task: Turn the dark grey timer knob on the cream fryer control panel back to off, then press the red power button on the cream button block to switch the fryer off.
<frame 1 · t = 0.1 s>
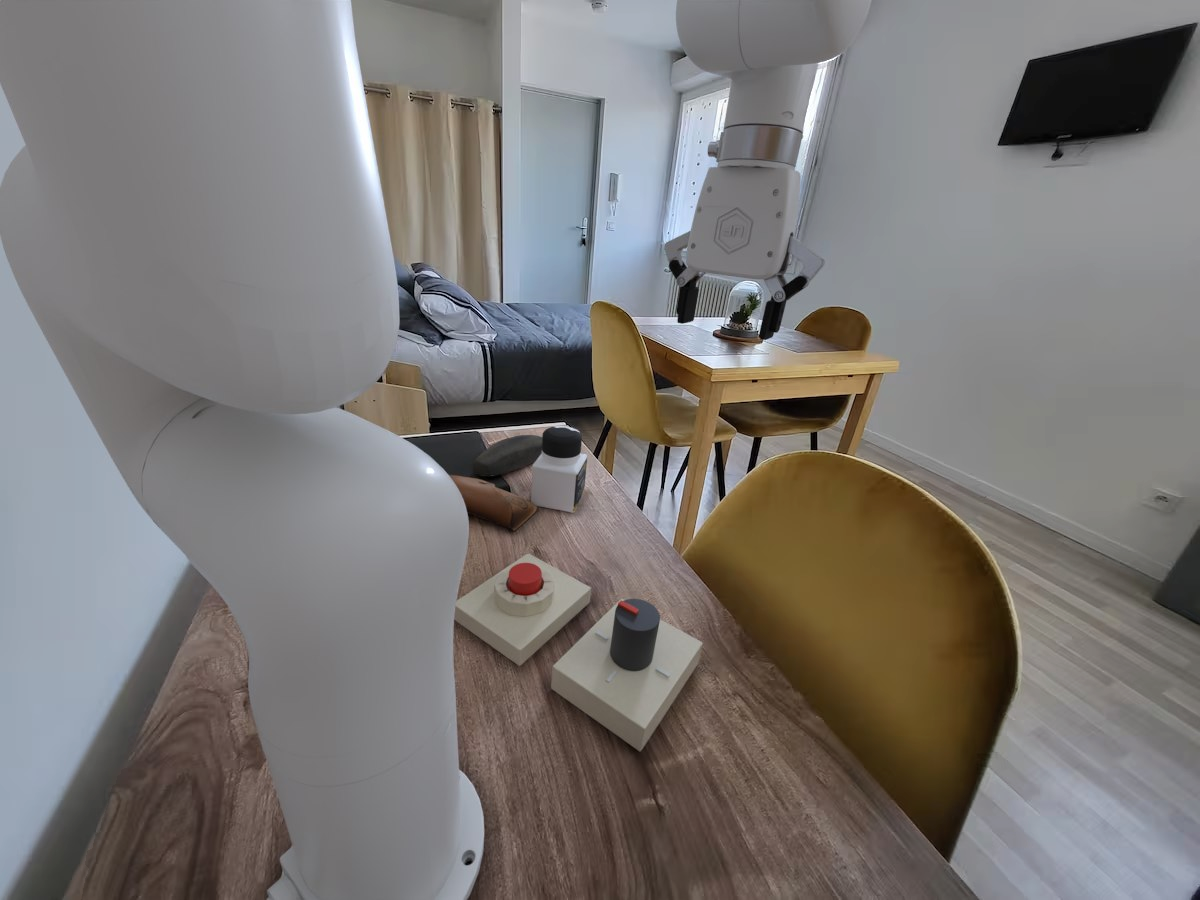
hand: (723, 329, 55), 31 cm above the table, tool pointing down, fingers open, 9 cm apart
power button: (525, 579, 53), point 4 cm above the table, slide at 0.1 cm
sunglasses case: (476, 505, 75), on the table
decorative stone: (512, 464, 89), on the table
timer panel: (627, 675, 48), on the table
button block: (524, 610, 55), on the table
timer knob: (634, 633, 46), point 6 cm above the table, hinge at 90.0°
medicine bottle: (558, 499, 79), on the table
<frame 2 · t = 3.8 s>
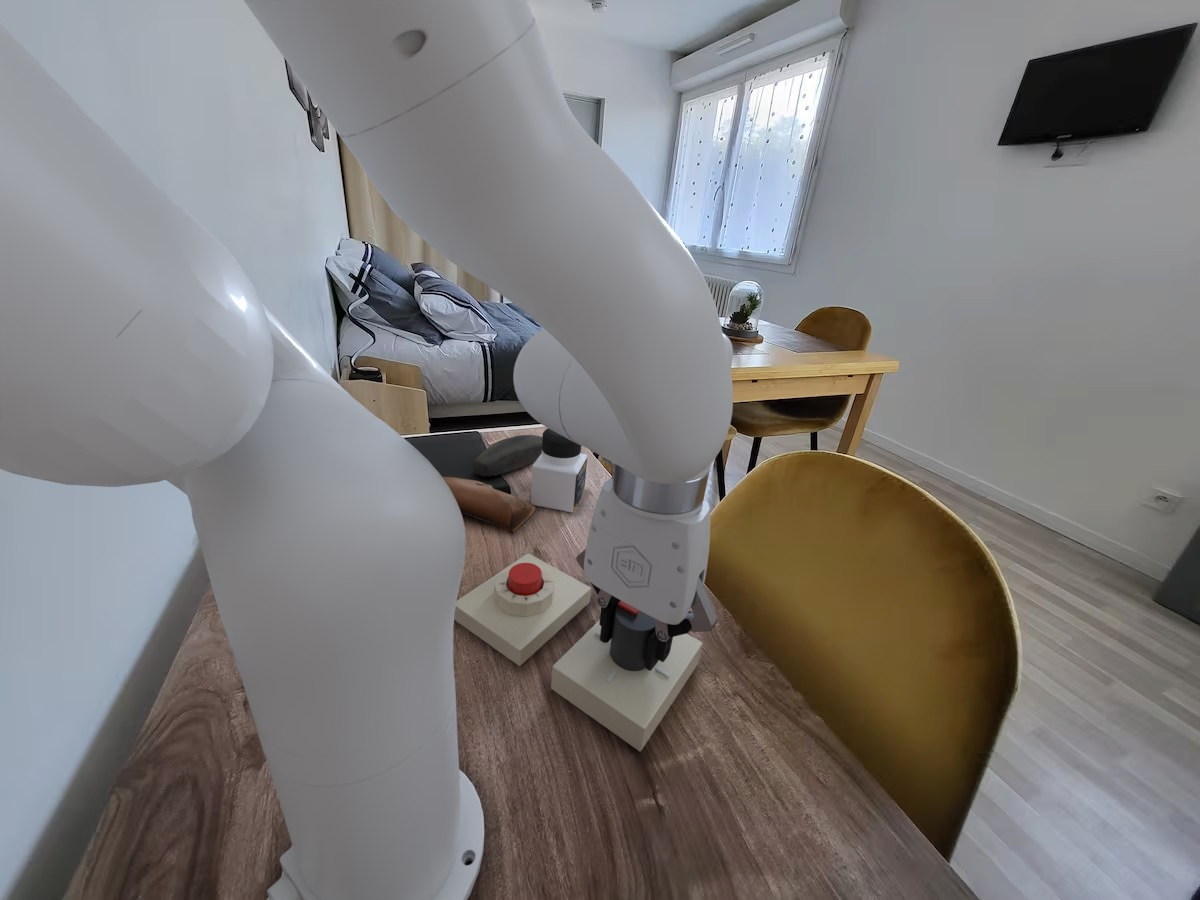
hand: (632, 645, 47), 4 cm above the table, tool pointing down, fingers closed on timer knob, 4 cm apart
timer knob: (634, 633, 46), point 6 cm above the table, hinge at 89.9°, touching gripper
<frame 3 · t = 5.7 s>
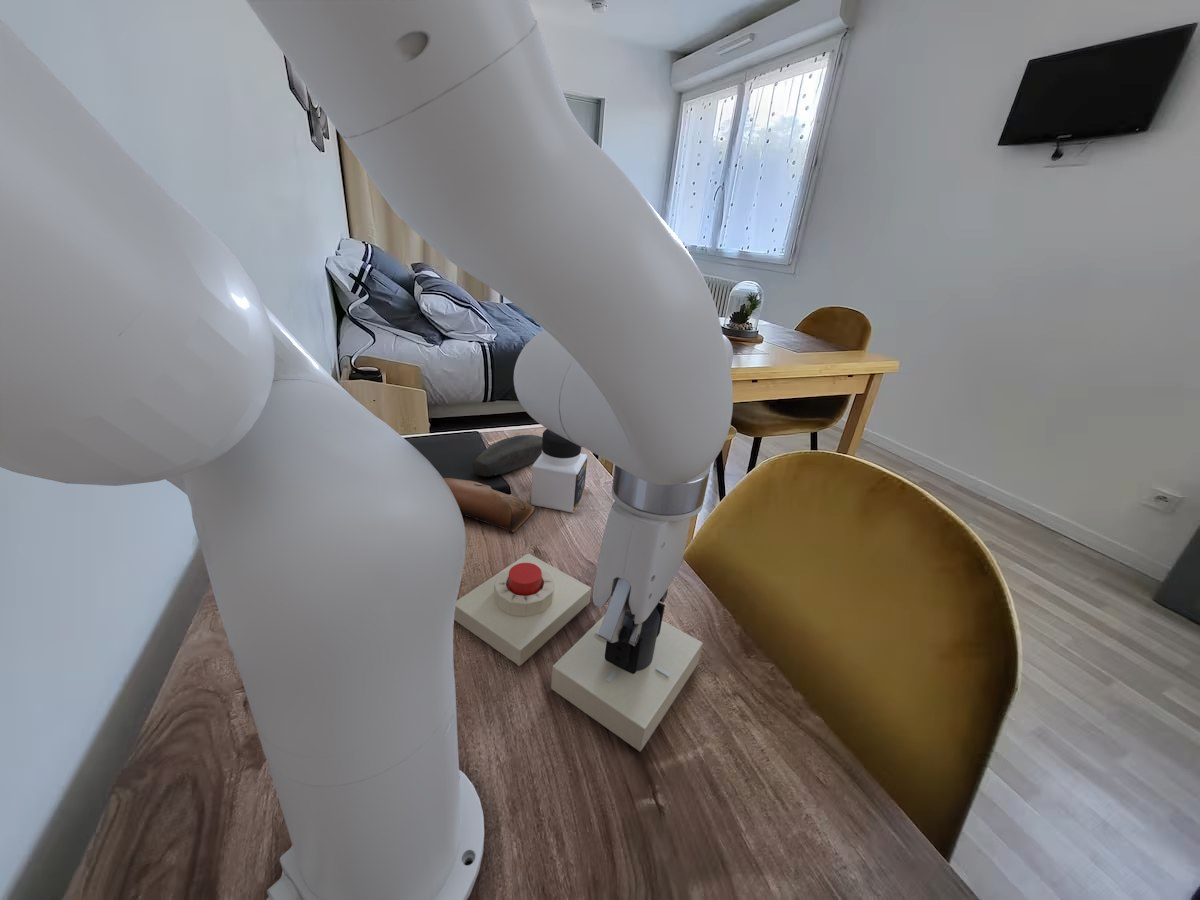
hand: (632, 645, 47), 4 cm above the table, tool pointing down, fingers open, 4 cm apart
timer knob: (634, 633, 46), point 6 cm above the table, hinge at 4.8°
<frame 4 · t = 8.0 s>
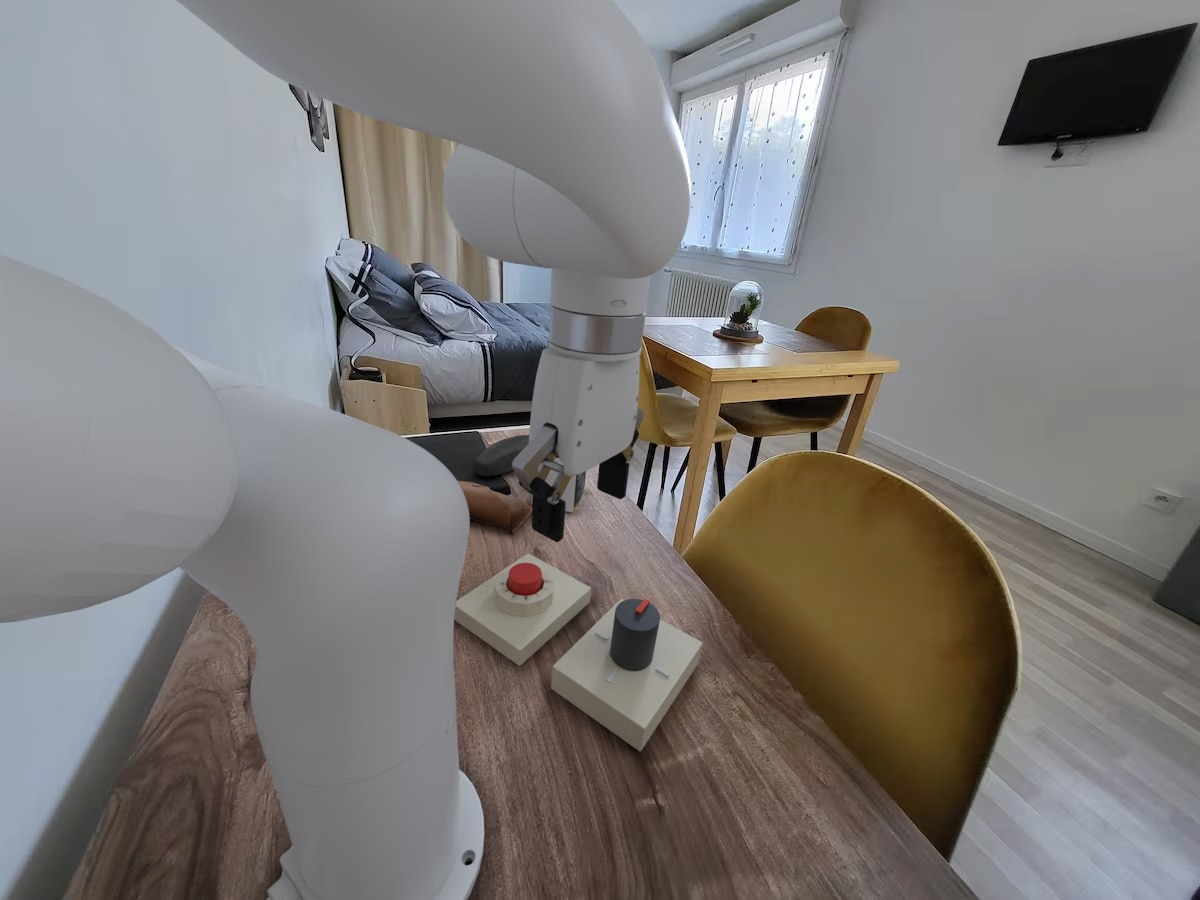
hand: (581, 512, 46), 16 cm above the table, tool pointing down, fingers open, 9 cm apart
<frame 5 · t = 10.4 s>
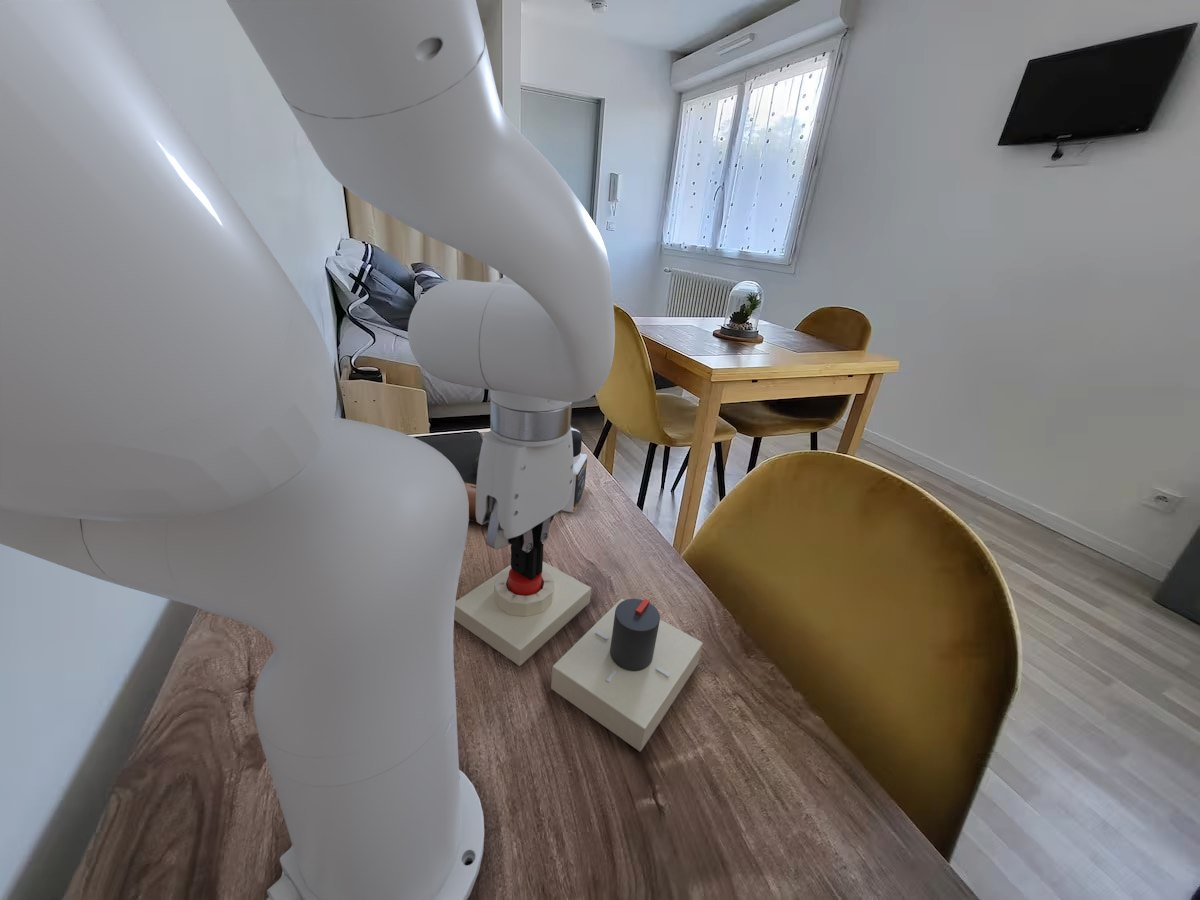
hand: (526, 571, 53), 5 cm above the table, tool pointing down, fingers closed
power button: (525, 579, 53), point 4 cm above the table, slide at 0.1 cm, touching gripper
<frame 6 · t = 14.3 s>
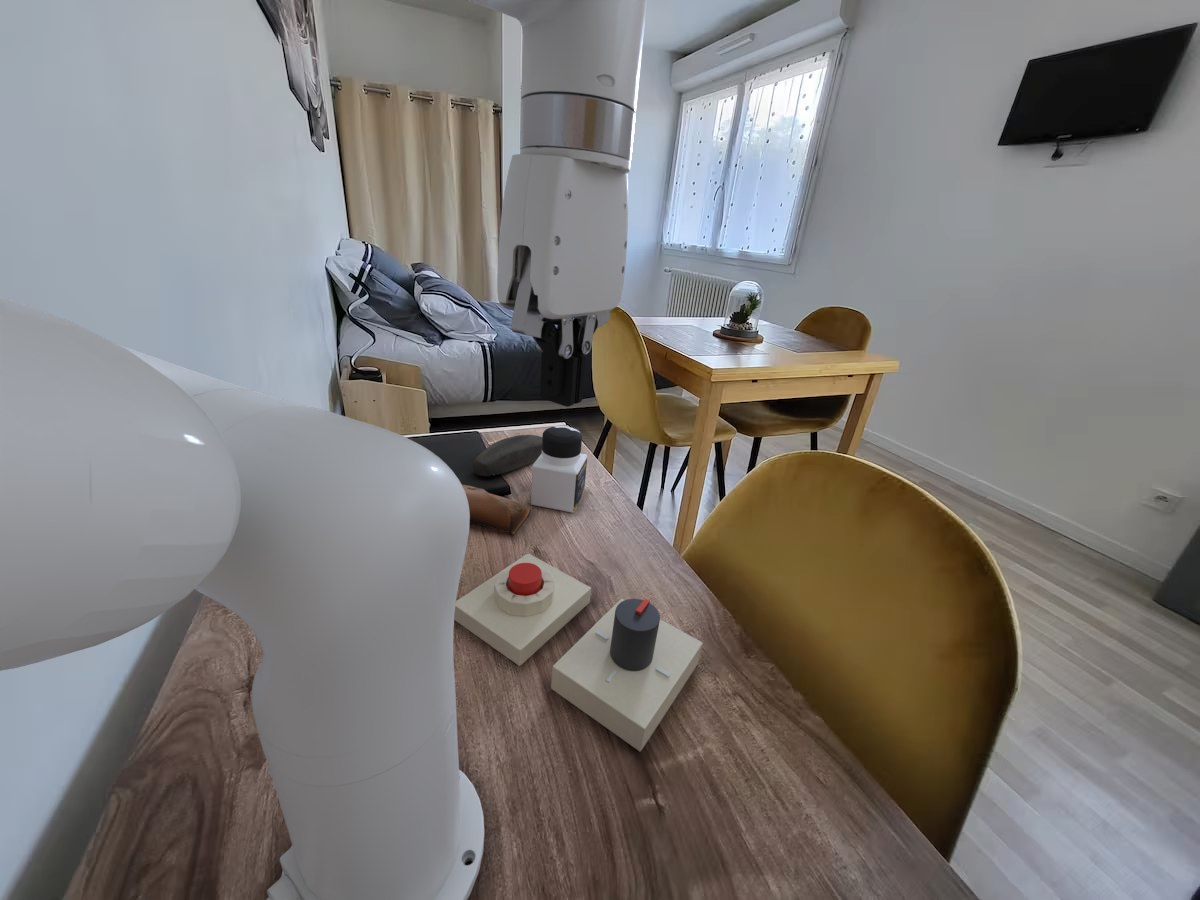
hand: (560, 400, 40), 27 cm above the table, tool pointing down, fingers closed
power button: (525, 579, 53), point 4 cm above the table, slide at 0.1 cm
at the end: timer knob at +5° (first picture: +90°); power button pushed in 1.1 cm at the most during the clip, back to where it started at the end; power button slide at 0.1 cm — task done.
